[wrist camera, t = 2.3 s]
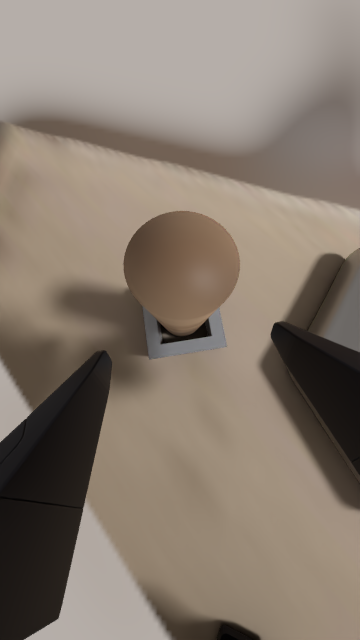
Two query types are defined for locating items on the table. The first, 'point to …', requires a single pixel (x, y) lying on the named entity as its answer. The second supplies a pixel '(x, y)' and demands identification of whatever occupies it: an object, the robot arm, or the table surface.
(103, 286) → the table surface
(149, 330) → the socket block
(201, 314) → the walnut dowel
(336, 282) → the emblem
